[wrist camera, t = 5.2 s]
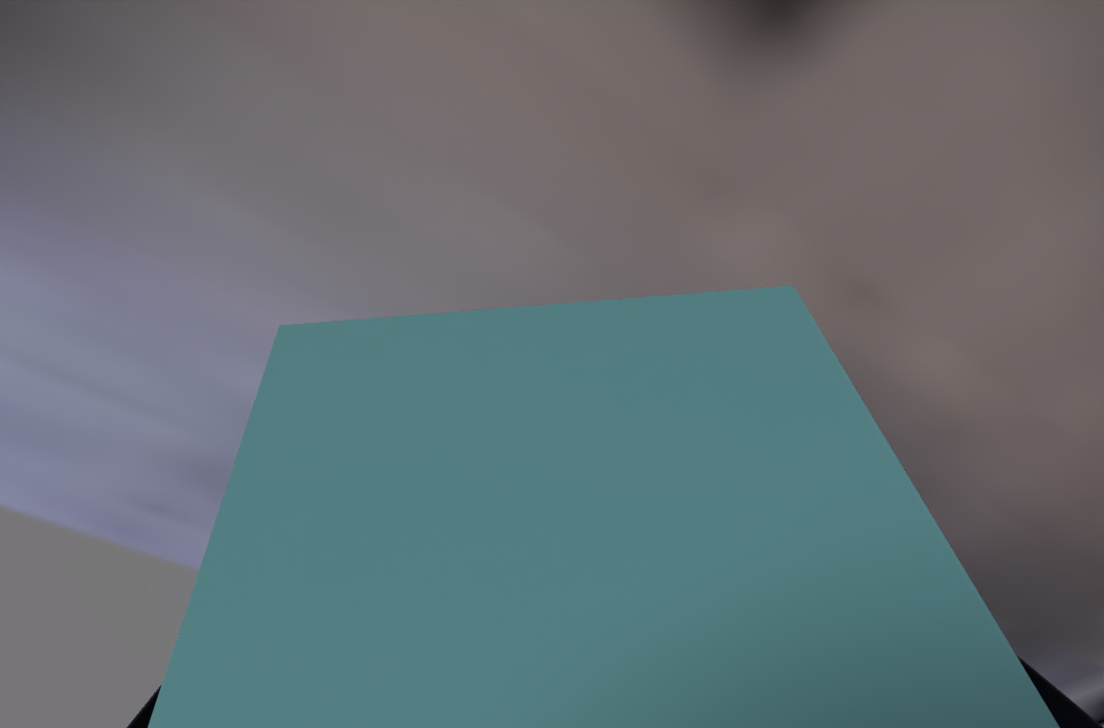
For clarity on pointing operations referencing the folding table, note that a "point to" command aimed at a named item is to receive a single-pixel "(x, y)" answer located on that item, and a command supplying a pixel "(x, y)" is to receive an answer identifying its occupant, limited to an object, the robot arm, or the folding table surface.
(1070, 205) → the folding table surface
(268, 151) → the folding table surface
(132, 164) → the folding table surface
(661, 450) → the teal block
